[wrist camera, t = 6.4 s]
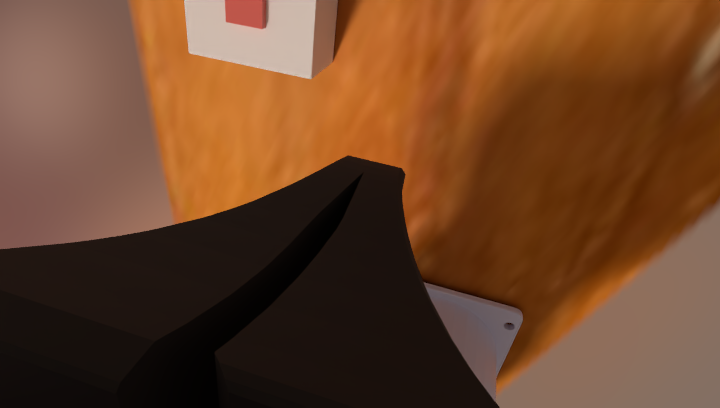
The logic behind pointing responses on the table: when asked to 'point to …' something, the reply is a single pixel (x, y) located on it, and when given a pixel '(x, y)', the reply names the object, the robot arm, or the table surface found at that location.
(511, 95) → the table surface
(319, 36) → the power strip
